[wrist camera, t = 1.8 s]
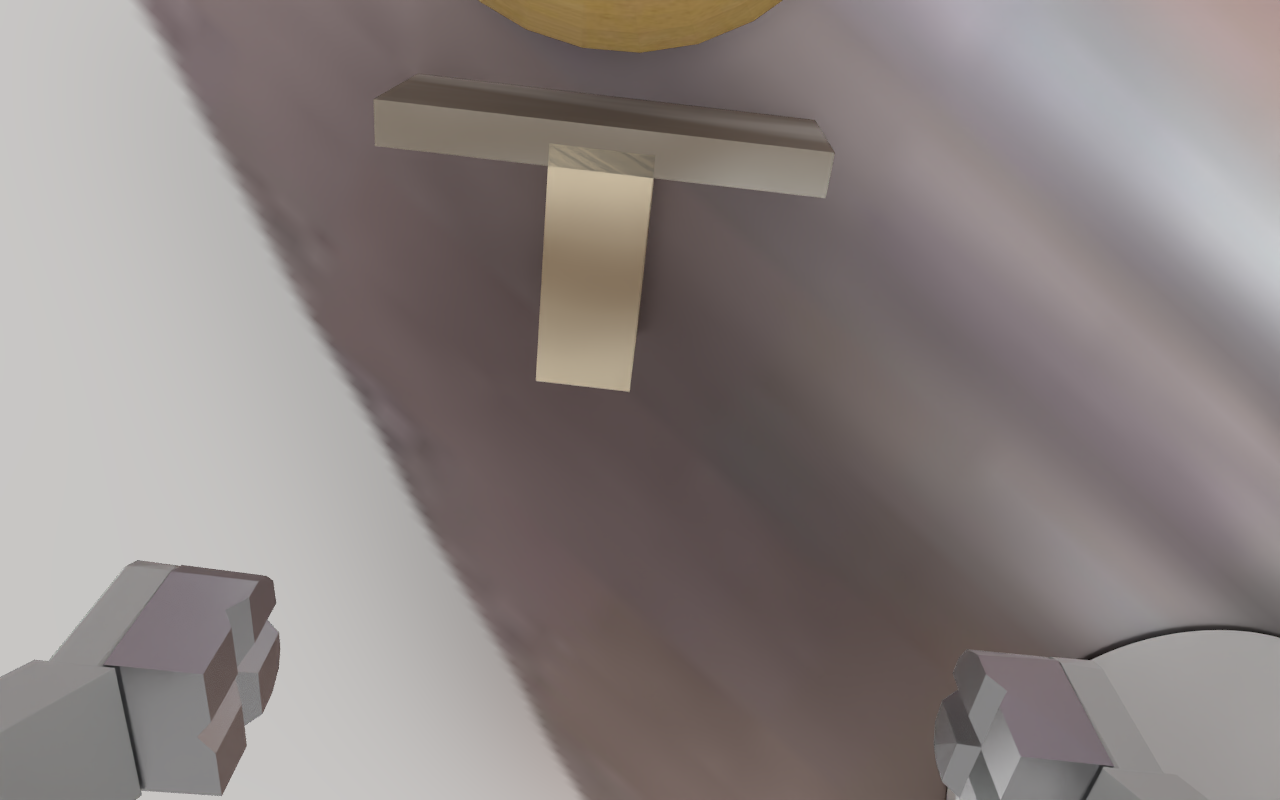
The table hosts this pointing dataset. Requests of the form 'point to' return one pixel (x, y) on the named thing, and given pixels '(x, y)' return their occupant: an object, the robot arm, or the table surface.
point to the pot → (631, 20)
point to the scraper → (600, 189)
